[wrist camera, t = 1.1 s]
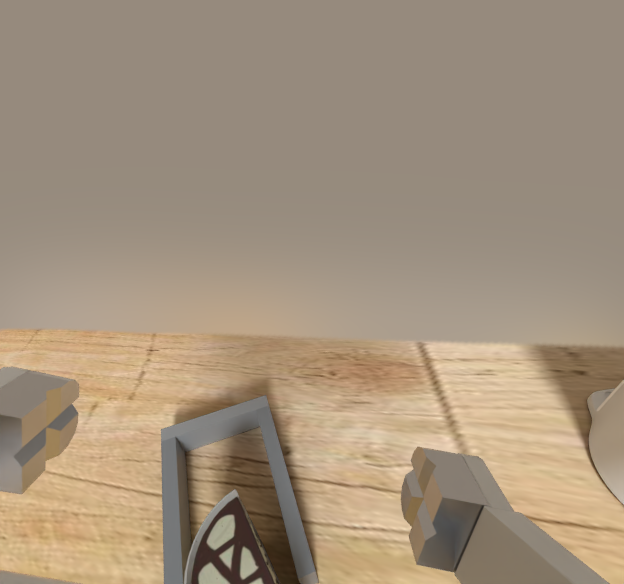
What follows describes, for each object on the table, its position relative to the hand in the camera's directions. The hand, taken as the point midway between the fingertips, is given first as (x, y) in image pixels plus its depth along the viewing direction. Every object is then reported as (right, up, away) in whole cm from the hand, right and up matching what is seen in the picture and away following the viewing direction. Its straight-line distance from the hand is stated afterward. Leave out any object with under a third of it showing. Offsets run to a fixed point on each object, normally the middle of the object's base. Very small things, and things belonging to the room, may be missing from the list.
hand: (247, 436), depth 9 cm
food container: (-3, -24, +22) cm, 33 cm away
